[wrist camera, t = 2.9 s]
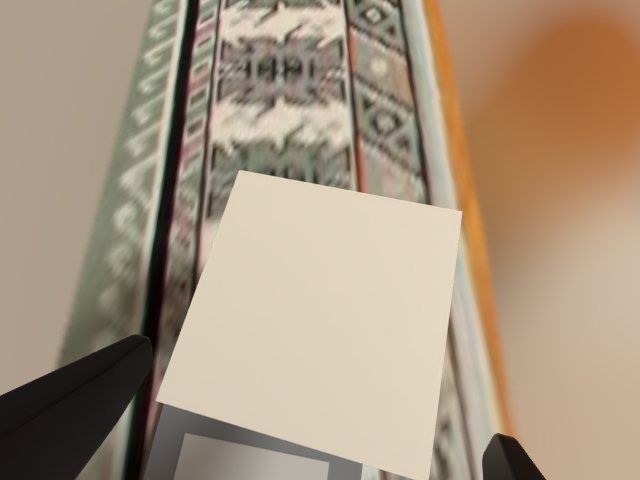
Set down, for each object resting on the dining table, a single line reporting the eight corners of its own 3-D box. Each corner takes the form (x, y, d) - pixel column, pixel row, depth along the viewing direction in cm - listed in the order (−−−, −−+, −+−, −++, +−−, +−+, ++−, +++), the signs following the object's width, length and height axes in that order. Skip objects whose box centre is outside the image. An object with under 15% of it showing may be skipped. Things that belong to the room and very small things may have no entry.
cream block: (373, 400, 17) (428, 483, 6) (277, 374, 18) (155, 400, 6) (391, 302, 18) (462, 211, 7) (302, 281, 19) (239, 170, 8)
